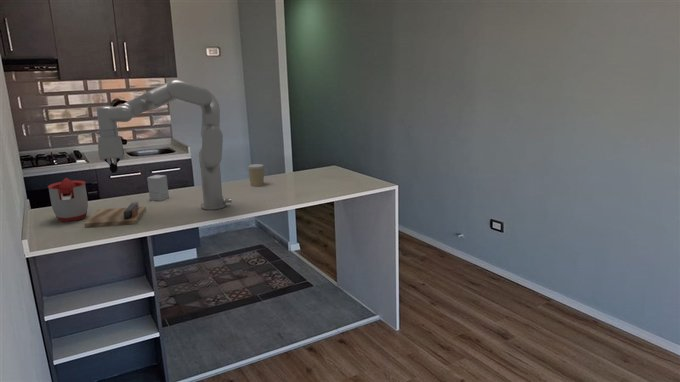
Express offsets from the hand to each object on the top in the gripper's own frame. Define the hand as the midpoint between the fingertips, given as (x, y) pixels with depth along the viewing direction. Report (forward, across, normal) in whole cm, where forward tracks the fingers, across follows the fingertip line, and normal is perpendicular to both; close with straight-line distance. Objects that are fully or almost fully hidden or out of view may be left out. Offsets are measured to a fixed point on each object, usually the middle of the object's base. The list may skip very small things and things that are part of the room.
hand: (114, 172), depth 224 cm
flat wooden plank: (+22, -1, -2) cm, 22 cm away
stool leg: (+20, +6, -2) cm, 21 cm away
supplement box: (+22, +13, +30) cm, 40 cm away
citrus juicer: (+22, -22, +2) cm, 31 cm away
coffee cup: (+22, +66, +49) cm, 85 cm away
